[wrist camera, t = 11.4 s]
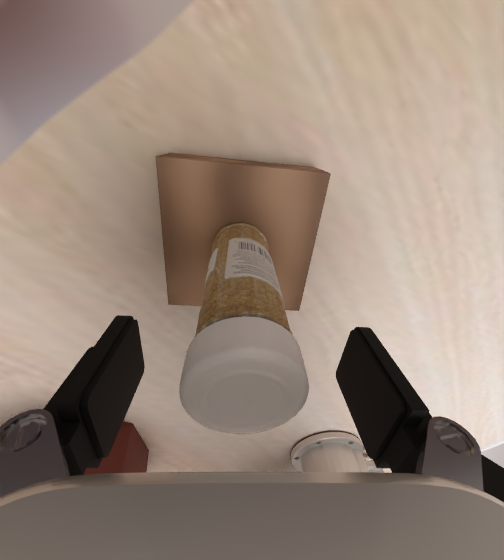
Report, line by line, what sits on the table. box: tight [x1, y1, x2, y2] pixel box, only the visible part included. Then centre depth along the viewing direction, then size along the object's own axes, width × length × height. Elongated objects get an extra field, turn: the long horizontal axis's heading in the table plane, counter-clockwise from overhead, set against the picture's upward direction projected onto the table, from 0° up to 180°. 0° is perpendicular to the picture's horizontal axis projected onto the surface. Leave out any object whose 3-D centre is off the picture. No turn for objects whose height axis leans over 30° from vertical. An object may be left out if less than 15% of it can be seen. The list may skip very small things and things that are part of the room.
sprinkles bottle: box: [180, 223, 309, 434], centre depth 14 cm, size 5×5×13 cm
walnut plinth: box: [156, 153, 330, 311], centre depth 22 cm, size 12×12×4 cm
